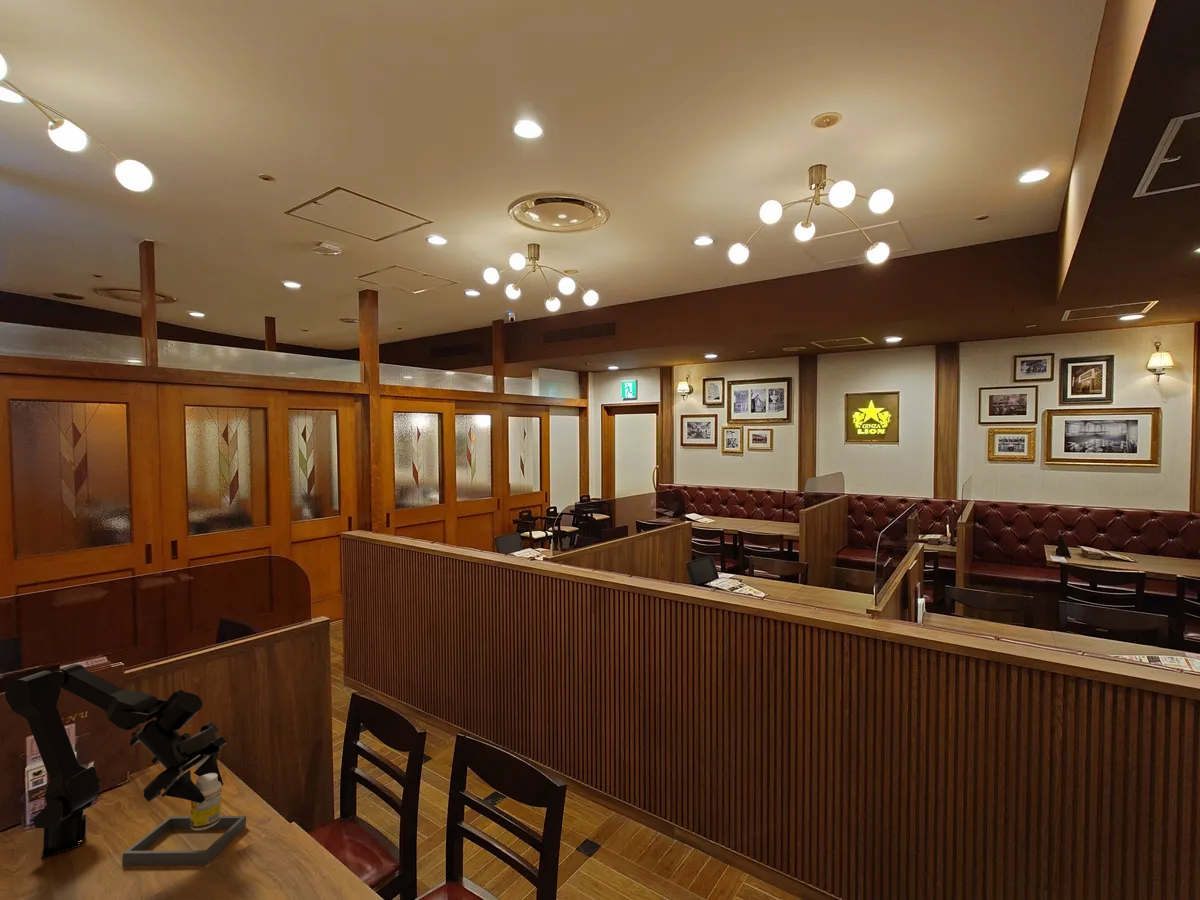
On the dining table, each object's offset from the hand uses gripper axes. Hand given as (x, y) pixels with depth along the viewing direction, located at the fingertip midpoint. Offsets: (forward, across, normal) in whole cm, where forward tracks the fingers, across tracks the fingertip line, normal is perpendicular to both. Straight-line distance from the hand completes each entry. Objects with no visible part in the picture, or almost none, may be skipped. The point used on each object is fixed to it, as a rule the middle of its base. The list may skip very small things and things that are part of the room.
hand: (212, 793), depth 125 cm
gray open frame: (+4, 0, +12) cm, 12 cm away
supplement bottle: (+4, 0, +6) cm, 7 cm away
